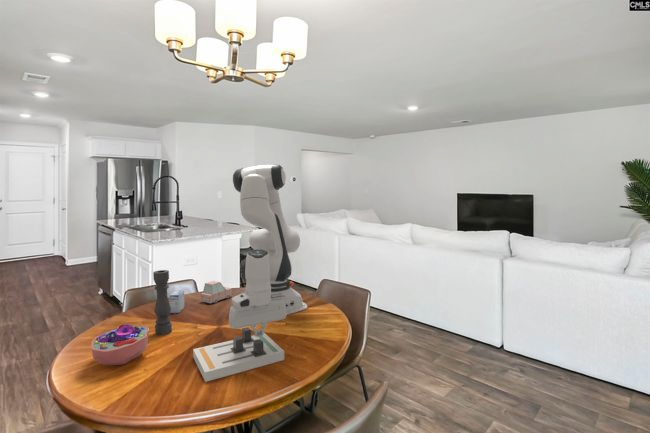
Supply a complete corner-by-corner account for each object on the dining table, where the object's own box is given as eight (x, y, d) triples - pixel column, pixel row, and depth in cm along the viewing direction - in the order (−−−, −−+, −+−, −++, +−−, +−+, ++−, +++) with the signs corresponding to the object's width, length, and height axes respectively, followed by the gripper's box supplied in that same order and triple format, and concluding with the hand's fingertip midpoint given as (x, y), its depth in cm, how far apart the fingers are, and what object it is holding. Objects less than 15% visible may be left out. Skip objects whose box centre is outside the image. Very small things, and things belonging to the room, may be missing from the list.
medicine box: (175, 307, 172) (174, 290, 171) (184, 307, 172) (184, 290, 172) (169, 313, 164) (169, 295, 164) (179, 313, 165) (178, 295, 164)
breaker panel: (264, 340, 134) (264, 332, 134) (284, 359, 119) (284, 351, 119) (193, 357, 121) (193, 349, 120) (205, 381, 105) (204, 372, 105)
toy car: (234, 297, 188) (234, 279, 187) (212, 305, 175) (211, 286, 174) (222, 295, 193) (221, 277, 192) (199, 302, 180) (198, 283, 179)
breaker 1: (250, 336, 130) (249, 326, 130) (253, 340, 127) (253, 329, 126) (239, 339, 128) (239, 328, 128) (243, 343, 124) (242, 332, 124)
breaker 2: (261, 349, 120) (261, 337, 119) (266, 353, 116) (266, 342, 116) (250, 352, 118) (250, 340, 117) (254, 356, 114) (254, 345, 114)
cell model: (76, 375, 110) (73, 340, 109) (116, 346, 130) (115, 316, 129) (128, 376, 109) (126, 341, 108) (161, 347, 129) (160, 317, 128)
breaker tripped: (242, 346, 122) (241, 334, 122) (245, 350, 119) (245, 339, 119) (230, 348, 120) (230, 337, 120) (234, 353, 117) (233, 341, 116)
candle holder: (165, 336, 139) (162, 273, 137) (151, 334, 140) (148, 273, 138) (175, 329, 145) (172, 270, 143) (161, 328, 146) (159, 269, 144)
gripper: (282, 290, 130) (282, 327, 131) (227, 298, 120) (227, 338, 121) (289, 294, 125) (289, 332, 126) (232, 303, 114) (232, 345, 115)
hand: (258, 335), depth 123 cm, fingers closed
